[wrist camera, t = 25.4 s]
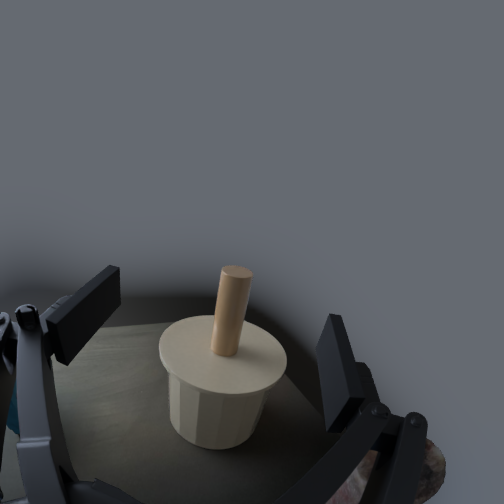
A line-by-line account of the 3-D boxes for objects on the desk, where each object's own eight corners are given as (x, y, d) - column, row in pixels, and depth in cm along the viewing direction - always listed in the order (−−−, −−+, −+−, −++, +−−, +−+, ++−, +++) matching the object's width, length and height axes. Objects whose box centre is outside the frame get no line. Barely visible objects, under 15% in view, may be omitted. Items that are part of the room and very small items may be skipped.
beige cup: (158, 435, 30) (152, 369, 25) (182, 375, 42) (186, 306, 37) (252, 457, 30) (277, 398, 25) (259, 392, 41) (279, 327, 37)
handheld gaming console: (37, 438, 22) (-9, 359, 17) (12, 439, 19) (-38, 360, 14) (31, 386, 29) (1, 305, 24) (9, 388, 26) (-24, 307, 21)
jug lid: (169, 408, 21) (173, 308, 18) (153, 323, 33) (158, 243, 30) (306, 389, 26) (339, 304, 24) (255, 321, 38) (271, 251, 35)
